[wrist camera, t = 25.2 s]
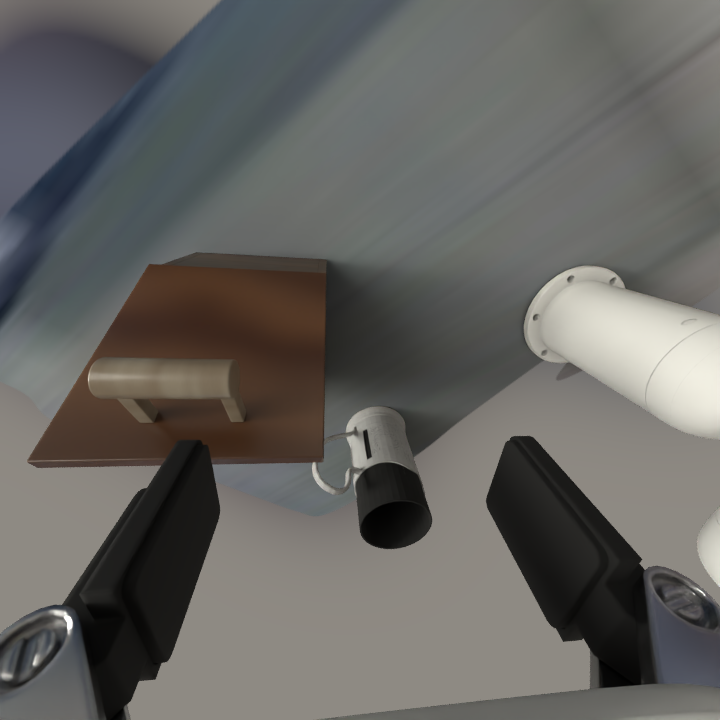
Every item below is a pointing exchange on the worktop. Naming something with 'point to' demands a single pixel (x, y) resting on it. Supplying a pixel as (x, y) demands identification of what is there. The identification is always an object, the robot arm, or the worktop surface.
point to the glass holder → (383, 479)
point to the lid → (201, 373)
